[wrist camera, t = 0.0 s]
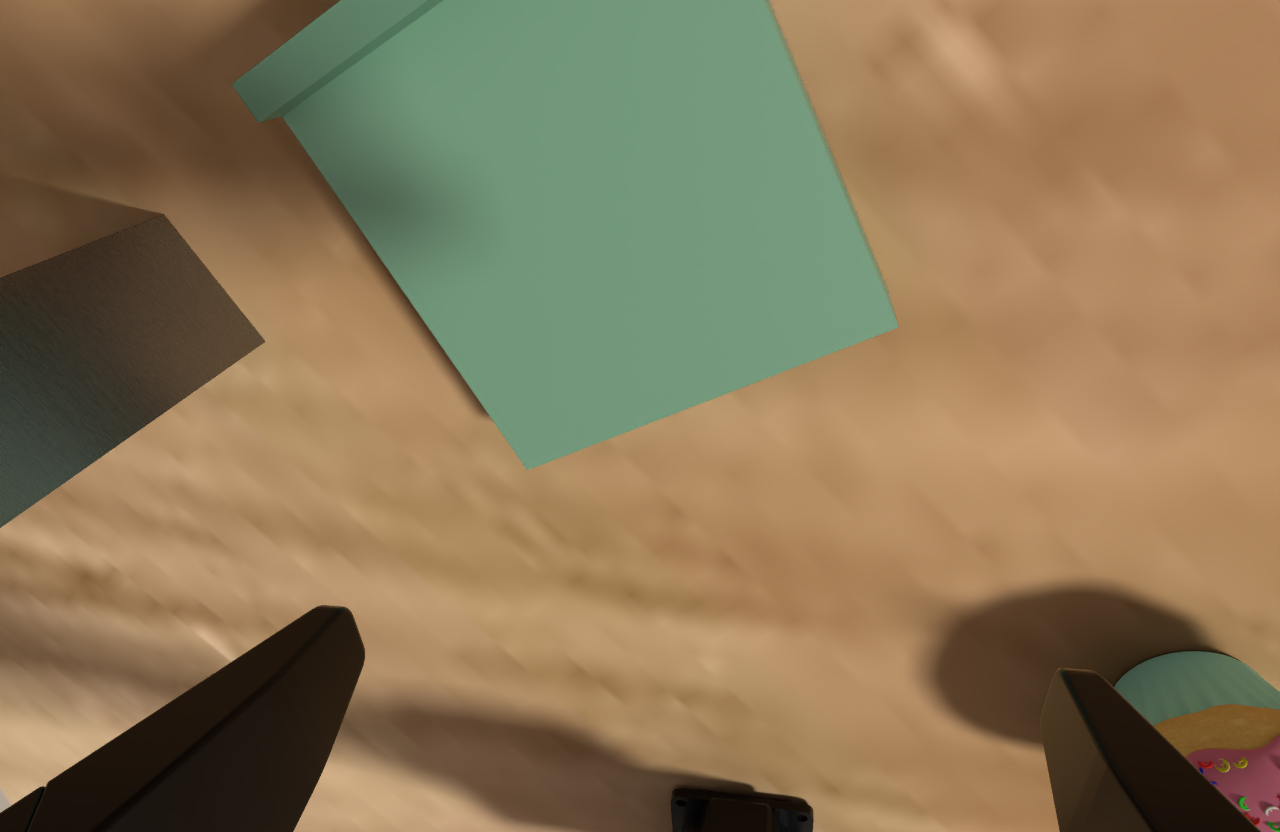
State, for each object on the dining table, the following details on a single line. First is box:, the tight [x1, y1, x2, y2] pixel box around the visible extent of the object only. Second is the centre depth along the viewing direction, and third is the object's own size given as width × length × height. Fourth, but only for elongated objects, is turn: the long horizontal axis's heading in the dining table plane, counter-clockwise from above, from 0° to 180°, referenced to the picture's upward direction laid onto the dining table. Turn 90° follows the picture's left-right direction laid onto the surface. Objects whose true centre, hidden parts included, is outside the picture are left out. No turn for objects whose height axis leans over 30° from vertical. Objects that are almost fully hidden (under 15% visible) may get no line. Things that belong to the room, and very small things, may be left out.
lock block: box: [0, 215, 265, 528], centre depth 21 cm, size 5×5×13 cm
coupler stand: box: [231, 0, 899, 470], centre depth 20 cm, size 13×12×4 cm
